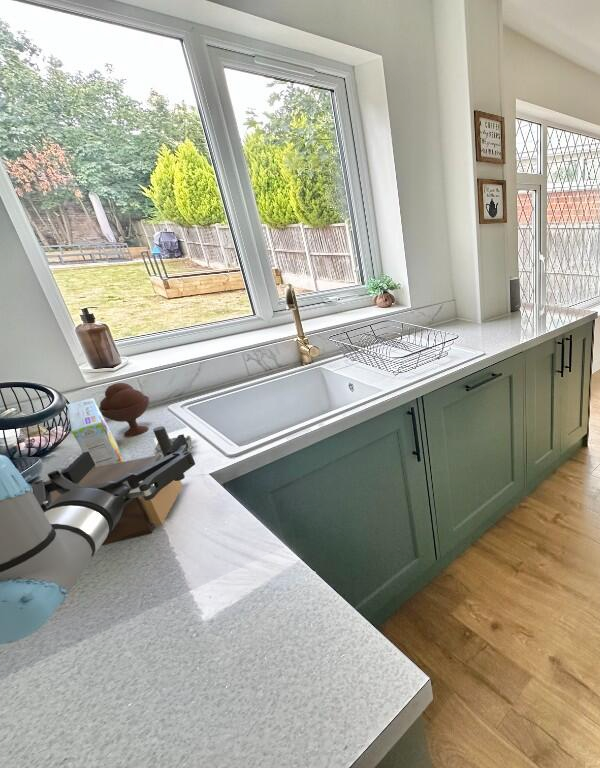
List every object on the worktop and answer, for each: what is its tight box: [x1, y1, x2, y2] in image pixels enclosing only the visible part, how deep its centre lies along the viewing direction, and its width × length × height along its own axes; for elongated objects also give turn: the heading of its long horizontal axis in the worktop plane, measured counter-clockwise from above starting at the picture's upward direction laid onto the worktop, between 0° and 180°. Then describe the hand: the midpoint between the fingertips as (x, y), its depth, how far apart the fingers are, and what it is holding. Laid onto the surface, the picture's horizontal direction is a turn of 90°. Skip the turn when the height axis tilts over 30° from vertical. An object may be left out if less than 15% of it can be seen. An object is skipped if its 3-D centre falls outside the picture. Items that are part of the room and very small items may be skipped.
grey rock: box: [151, 435, 194, 459], centre depth 107 cm, size 11×8×4 cm
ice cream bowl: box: [98, 382, 150, 438], centre depth 118 cm, size 11×11×15 cm
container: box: [138, 425, 186, 527], centre depth 82 cm, size 20×14×18 cm
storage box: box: [50, 455, 160, 546], centre depth 83 cm, size 16×14×10 cm
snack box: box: [67, 397, 124, 468], centre depth 102 cm, size 21×6×15 cm, turn 47°
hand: (138, 449), depth 73 cm, fingers open, 13 cm apart
